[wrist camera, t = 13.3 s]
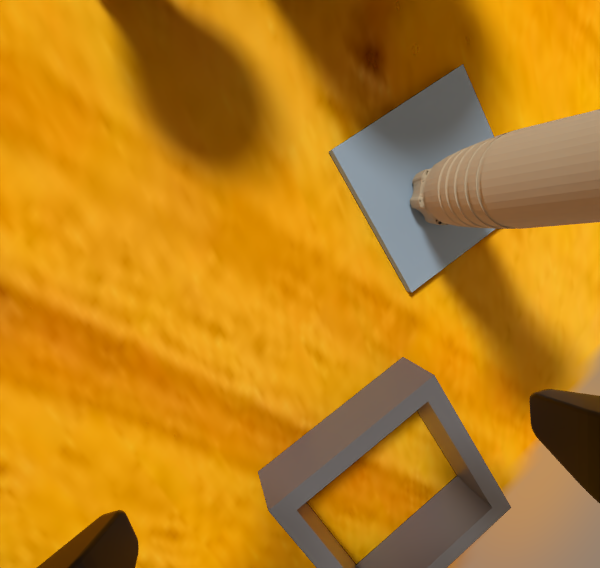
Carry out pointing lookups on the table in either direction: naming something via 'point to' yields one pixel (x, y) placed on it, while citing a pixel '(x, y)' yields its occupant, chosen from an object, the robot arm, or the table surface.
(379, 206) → the mat
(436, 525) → the grey square frame
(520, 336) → the table surface
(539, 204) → the handle
